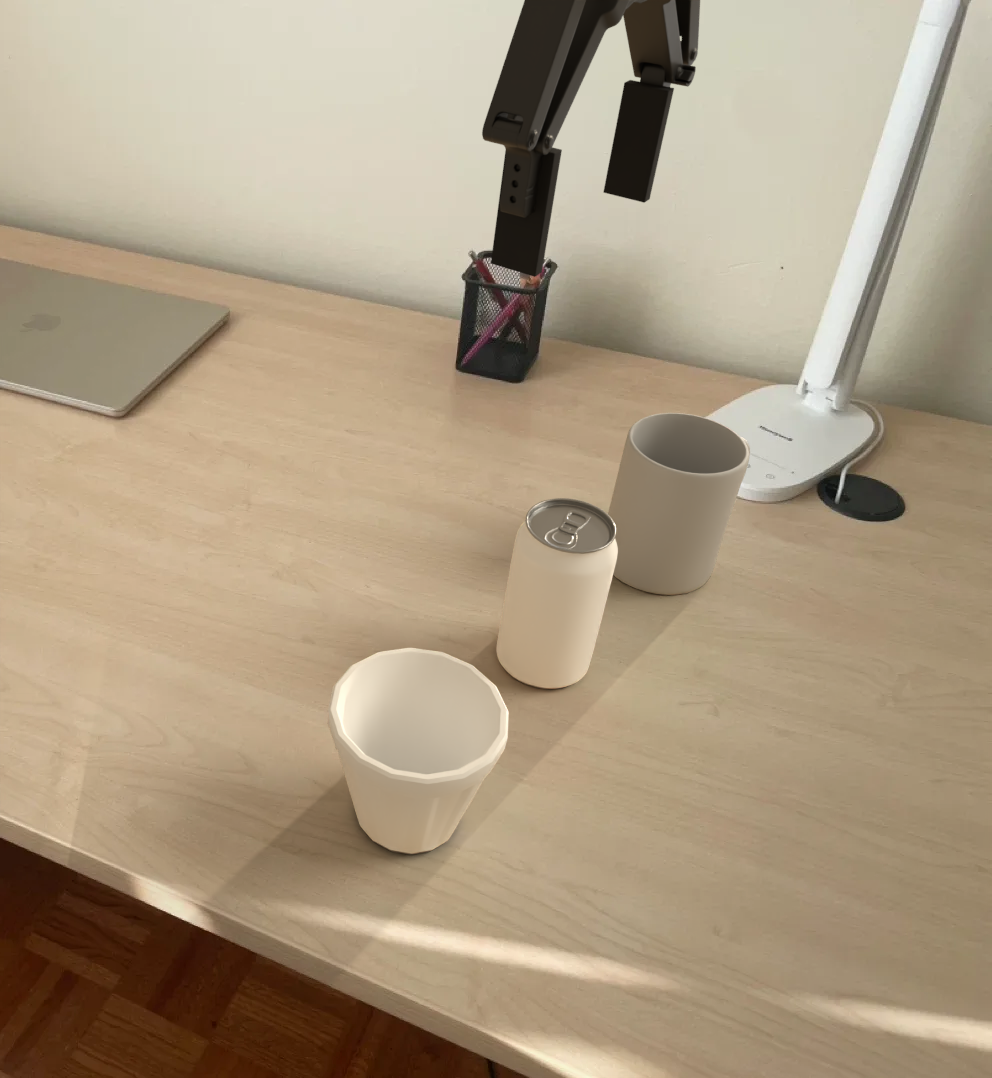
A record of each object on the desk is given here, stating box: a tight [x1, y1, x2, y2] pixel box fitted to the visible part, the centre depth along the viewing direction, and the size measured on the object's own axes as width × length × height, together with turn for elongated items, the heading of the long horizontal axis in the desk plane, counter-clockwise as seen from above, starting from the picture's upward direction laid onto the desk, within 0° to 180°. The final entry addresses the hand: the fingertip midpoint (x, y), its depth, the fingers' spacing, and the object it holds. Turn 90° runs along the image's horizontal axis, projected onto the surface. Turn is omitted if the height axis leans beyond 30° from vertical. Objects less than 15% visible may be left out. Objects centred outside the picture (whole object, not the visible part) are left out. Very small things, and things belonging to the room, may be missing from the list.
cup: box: [327, 647, 510, 856], centre depth 61 cm, size 10×10×9 cm
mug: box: [607, 412, 751, 596], centre depth 80 cm, size 12×8×11 cm
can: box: [495, 497, 618, 690], centre depth 71 cm, size 6×6×12 cm
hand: (574, 230), depth 61 cm, fingers open, 13 cm apart
